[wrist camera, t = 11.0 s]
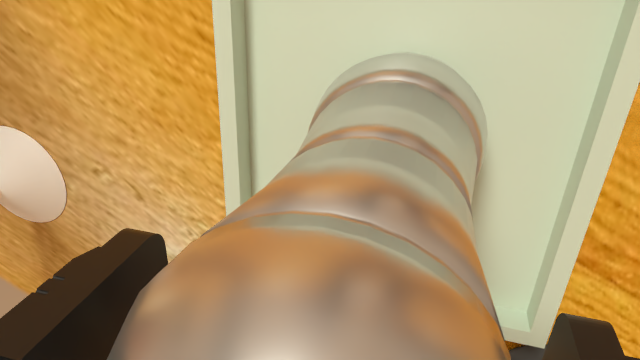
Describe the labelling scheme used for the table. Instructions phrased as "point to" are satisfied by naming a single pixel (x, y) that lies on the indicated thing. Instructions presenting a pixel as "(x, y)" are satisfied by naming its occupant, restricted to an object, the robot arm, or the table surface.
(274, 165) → the tray
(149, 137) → the table surface
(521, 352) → the sundae
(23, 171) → the champagne flute
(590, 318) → the robot arm
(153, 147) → the table surface
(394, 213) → the silver metal bottle
